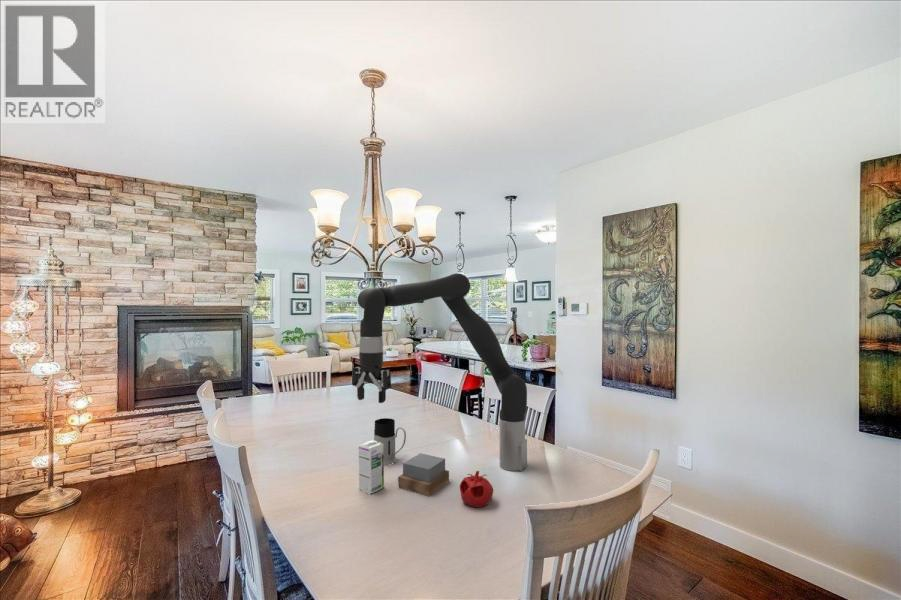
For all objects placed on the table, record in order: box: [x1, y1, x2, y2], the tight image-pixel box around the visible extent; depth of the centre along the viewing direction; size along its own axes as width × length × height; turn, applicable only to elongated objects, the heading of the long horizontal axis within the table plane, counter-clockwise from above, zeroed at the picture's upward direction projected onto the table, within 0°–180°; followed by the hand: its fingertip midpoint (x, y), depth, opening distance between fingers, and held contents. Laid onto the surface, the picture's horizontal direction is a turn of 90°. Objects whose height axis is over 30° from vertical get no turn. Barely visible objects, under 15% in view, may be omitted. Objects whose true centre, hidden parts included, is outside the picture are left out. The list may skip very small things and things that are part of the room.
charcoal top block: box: [402, 452, 446, 482], centre depth 132 cm, size 10×10×4 cm
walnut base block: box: [397, 469, 450, 497], centre depth 131 cm, size 12×12×4 cm
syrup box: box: [357, 439, 385, 495], centre depth 128 cm, size 6×6×14 cm
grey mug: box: [373, 417, 407, 466], centre depth 150 cm, size 9×14×15 cm, turn 59°
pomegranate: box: [459, 470, 494, 508], centre depth 120 cm, size 10×10×9 cm
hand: (371, 401), depth 128 cm, fingers open, 8 cm apart
